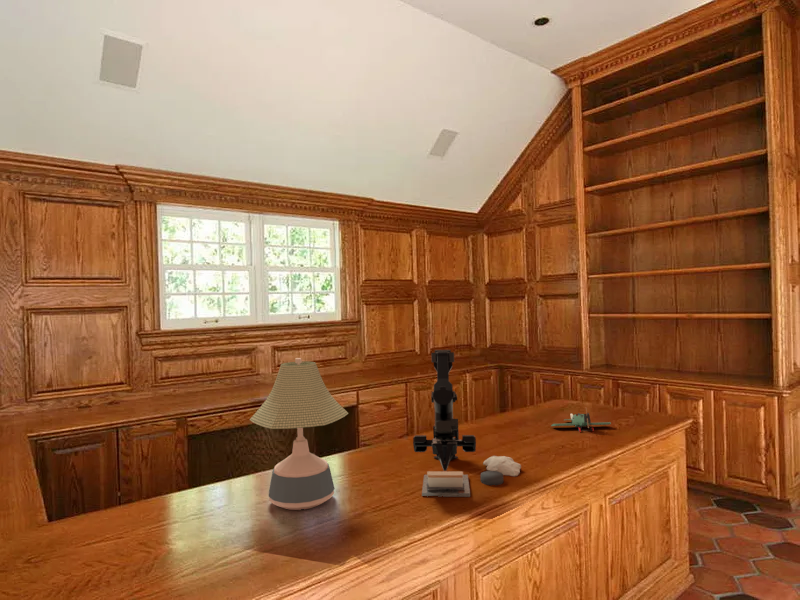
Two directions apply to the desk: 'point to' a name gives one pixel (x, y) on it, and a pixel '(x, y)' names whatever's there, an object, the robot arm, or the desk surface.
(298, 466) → the desk lamp
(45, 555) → the desk surface
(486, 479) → the grey river pebble
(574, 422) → the toy airplane
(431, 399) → the robot arm
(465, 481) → the grey flat slab
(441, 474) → the bowl
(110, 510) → the desk surface
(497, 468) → the decorative stone
